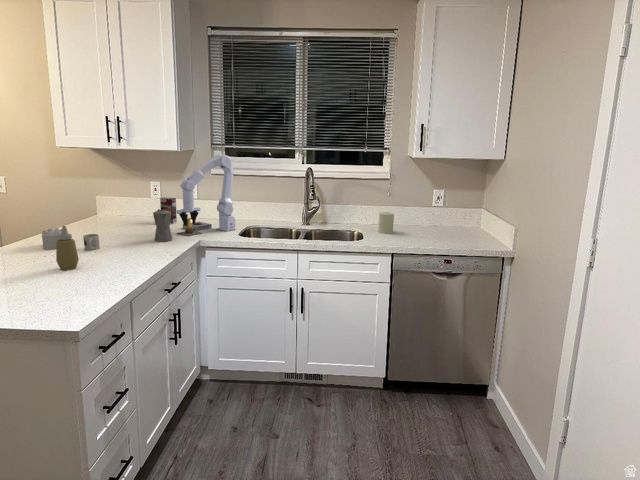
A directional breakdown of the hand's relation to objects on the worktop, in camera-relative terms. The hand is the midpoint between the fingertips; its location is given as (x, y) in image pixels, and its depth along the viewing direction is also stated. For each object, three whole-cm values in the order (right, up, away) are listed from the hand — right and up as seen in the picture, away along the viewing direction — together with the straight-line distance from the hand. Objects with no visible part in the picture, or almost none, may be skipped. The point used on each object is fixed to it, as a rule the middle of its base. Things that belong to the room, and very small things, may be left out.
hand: (189, 225), depth 255 cm
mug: (-36, -13, -39) cm, 54 cm away
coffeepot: (-9, -9, -15) cm, 20 cm away
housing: (0, -1, +16) cm, 16 cm away
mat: (0, -5, +1) cm, 5 cm away
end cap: (0, -4, +1) cm, 5 cm away
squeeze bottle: (-30, -21, -69) cm, 78 cm away
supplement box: (-21, +2, +30) cm, 37 cm away
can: (+114, -4, +19) cm, 116 cm away
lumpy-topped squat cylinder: (-56, -12, -35) cm, 67 cm away
